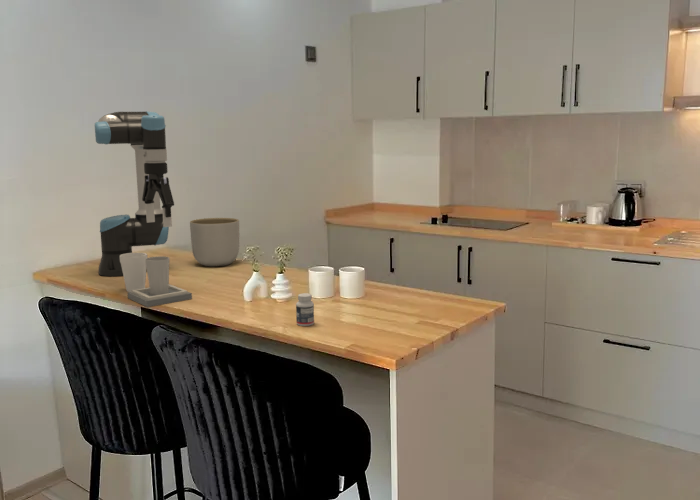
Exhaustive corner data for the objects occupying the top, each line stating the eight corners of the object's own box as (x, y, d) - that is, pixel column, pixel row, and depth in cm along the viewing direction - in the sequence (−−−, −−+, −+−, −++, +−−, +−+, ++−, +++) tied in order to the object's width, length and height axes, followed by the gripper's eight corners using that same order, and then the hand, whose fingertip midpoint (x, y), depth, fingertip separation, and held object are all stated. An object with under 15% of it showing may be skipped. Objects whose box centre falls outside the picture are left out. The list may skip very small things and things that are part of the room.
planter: (235, 268, 273) (234, 223, 270) (186, 269, 274) (184, 224, 270) (244, 259, 294) (242, 217, 291) (198, 259, 294) (196, 217, 291)
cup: (164, 296, 219) (162, 261, 217) (142, 295, 221) (140, 260, 219) (175, 290, 227) (173, 256, 225) (154, 289, 229) (152, 256, 227)
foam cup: (151, 290, 235) (149, 255, 233) (125, 294, 231) (123, 258, 229) (145, 285, 243) (143, 251, 241) (119, 289, 239) (117, 254, 237)
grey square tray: (127, 298, 225) (127, 290, 225) (171, 290, 235) (170, 283, 235) (147, 307, 213) (146, 298, 213) (191, 298, 223) (191, 290, 223)
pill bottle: (296, 321, 196) (295, 292, 194) (313, 321, 196) (313, 292, 194) (296, 326, 190) (295, 297, 189) (314, 326, 191) (313, 296, 189)
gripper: (130, 160, 226) (134, 221, 231) (160, 164, 208) (164, 229, 212) (150, 160, 231) (154, 219, 235) (182, 163, 212) (185, 227, 217)
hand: (159, 224), depth 224 cm, fingers open, 13 cm apart
